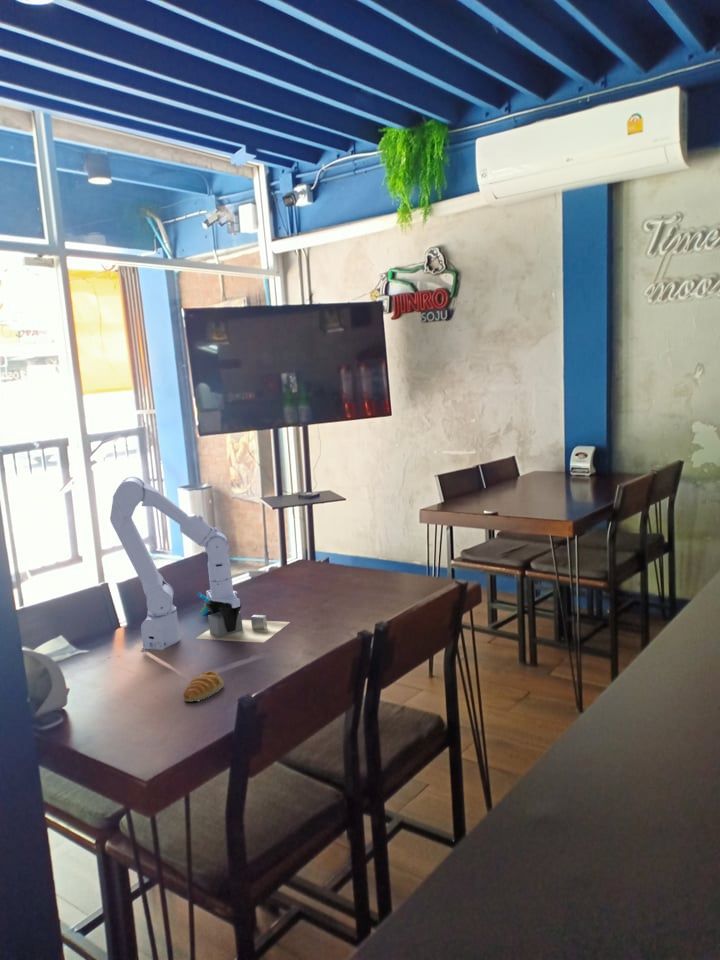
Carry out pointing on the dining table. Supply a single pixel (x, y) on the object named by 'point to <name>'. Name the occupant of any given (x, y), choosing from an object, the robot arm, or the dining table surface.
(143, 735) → the dining table surface
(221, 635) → the grey hollow rectangular block
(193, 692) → the pastry
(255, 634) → the shaft board
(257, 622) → the key shaft
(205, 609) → the blue cross piece
